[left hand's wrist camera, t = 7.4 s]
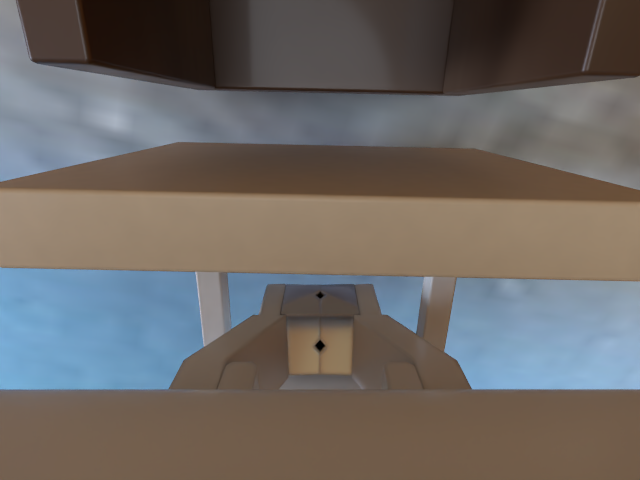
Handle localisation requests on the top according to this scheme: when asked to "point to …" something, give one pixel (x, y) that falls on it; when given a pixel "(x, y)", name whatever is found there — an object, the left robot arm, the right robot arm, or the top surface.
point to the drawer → (329, 150)
